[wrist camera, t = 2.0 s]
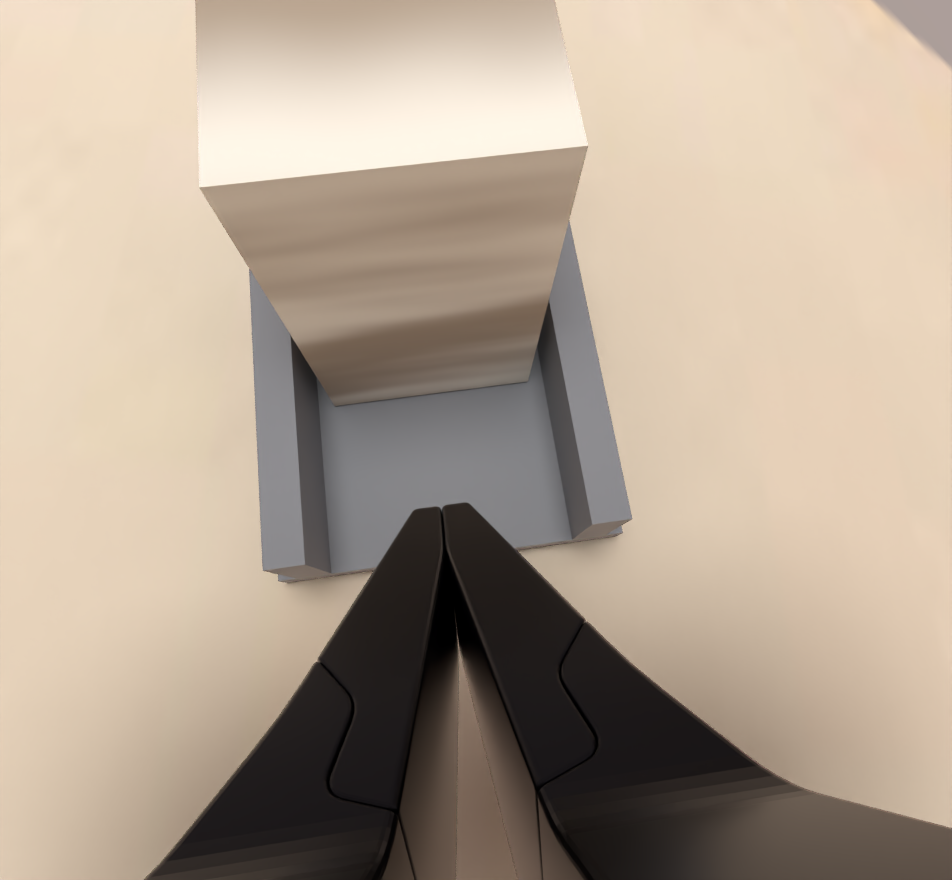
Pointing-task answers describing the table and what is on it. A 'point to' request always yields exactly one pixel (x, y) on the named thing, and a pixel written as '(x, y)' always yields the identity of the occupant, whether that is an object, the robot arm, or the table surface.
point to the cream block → (394, 179)
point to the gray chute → (434, 449)
